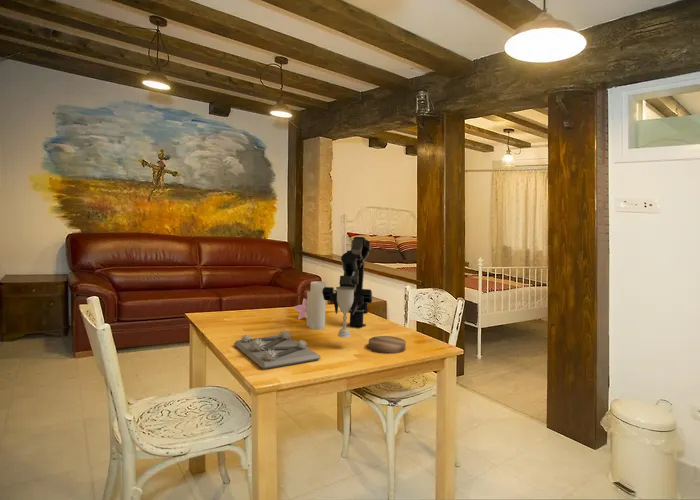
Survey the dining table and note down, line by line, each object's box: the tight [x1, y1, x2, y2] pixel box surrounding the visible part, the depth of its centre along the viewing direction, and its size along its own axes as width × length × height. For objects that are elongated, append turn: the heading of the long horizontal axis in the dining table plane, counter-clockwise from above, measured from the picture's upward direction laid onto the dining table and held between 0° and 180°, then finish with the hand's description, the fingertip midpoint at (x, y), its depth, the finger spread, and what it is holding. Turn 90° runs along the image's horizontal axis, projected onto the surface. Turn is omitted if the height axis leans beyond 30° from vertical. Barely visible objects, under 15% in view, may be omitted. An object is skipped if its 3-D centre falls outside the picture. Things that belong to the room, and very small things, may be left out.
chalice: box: [335, 286, 355, 338], centre depth 165 cm, size 7×7×18 cm
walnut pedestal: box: [368, 335, 407, 354], centre depth 167 cm, size 14×14×2 cm
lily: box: [293, 298, 307, 320], centre depth 209 cm, size 12×12×10 cm
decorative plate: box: [233, 329, 322, 370], centre depth 158 cm, size 30×22×7 cm
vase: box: [306, 280, 327, 331], centre depth 194 cm, size 11×7×20 cm, turn 20°
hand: (344, 313), depth 163 cm, fingers closed on chalice, 6 cm apart
